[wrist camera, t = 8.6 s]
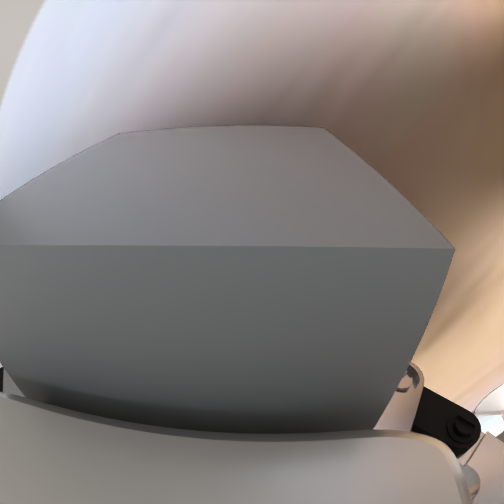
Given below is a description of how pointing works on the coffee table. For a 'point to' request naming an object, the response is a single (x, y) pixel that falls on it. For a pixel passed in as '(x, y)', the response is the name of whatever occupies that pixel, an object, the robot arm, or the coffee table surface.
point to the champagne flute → (492, 403)
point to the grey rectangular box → (216, 281)
